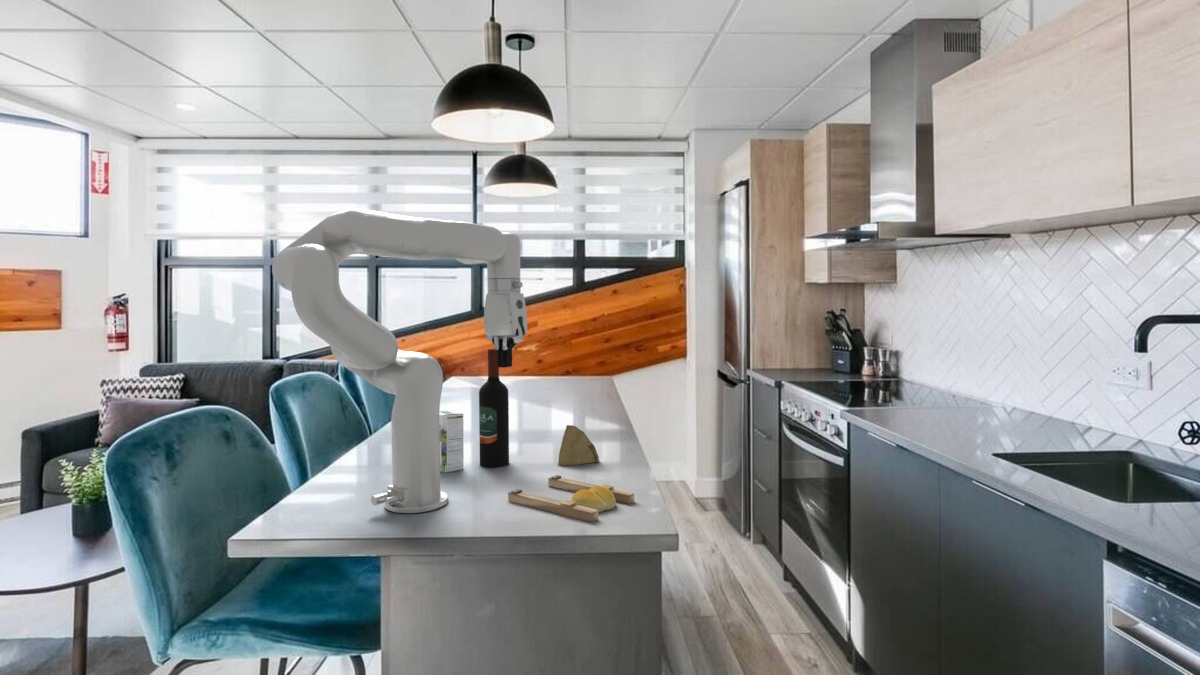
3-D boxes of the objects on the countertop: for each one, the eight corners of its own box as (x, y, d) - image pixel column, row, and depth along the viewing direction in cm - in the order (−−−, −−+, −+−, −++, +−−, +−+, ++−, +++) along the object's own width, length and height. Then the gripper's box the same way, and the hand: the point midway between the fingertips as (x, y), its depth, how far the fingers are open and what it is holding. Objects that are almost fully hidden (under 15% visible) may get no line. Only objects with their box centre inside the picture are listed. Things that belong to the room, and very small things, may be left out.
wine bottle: (512, 466, 155) (511, 350, 153) (482, 469, 152) (481, 350, 151) (505, 459, 162) (504, 348, 160) (477, 462, 159) (475, 348, 158)
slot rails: (591, 522, 114) (591, 510, 114) (508, 500, 127) (508, 490, 127) (634, 501, 127) (634, 490, 126) (554, 483, 139) (554, 473, 139)
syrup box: (433, 468, 153) (432, 412, 152) (454, 464, 156) (453, 409, 156) (443, 473, 148) (442, 415, 147) (464, 469, 152) (464, 412, 151)
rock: (605, 449, 163) (570, 442, 166) (603, 429, 157) (567, 421, 160) (592, 482, 155) (556, 474, 158) (590, 461, 150) (552, 453, 152)
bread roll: (564, 506, 125) (564, 486, 124) (601, 498, 129) (601, 480, 129) (585, 517, 118) (585, 497, 117) (623, 509, 122) (622, 489, 122)
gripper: (539, 287, 137) (539, 367, 138) (492, 288, 146) (493, 364, 147) (516, 286, 131) (517, 370, 132) (469, 287, 140) (470, 366, 141)
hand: (504, 366), depth 139 cm, fingers closed
